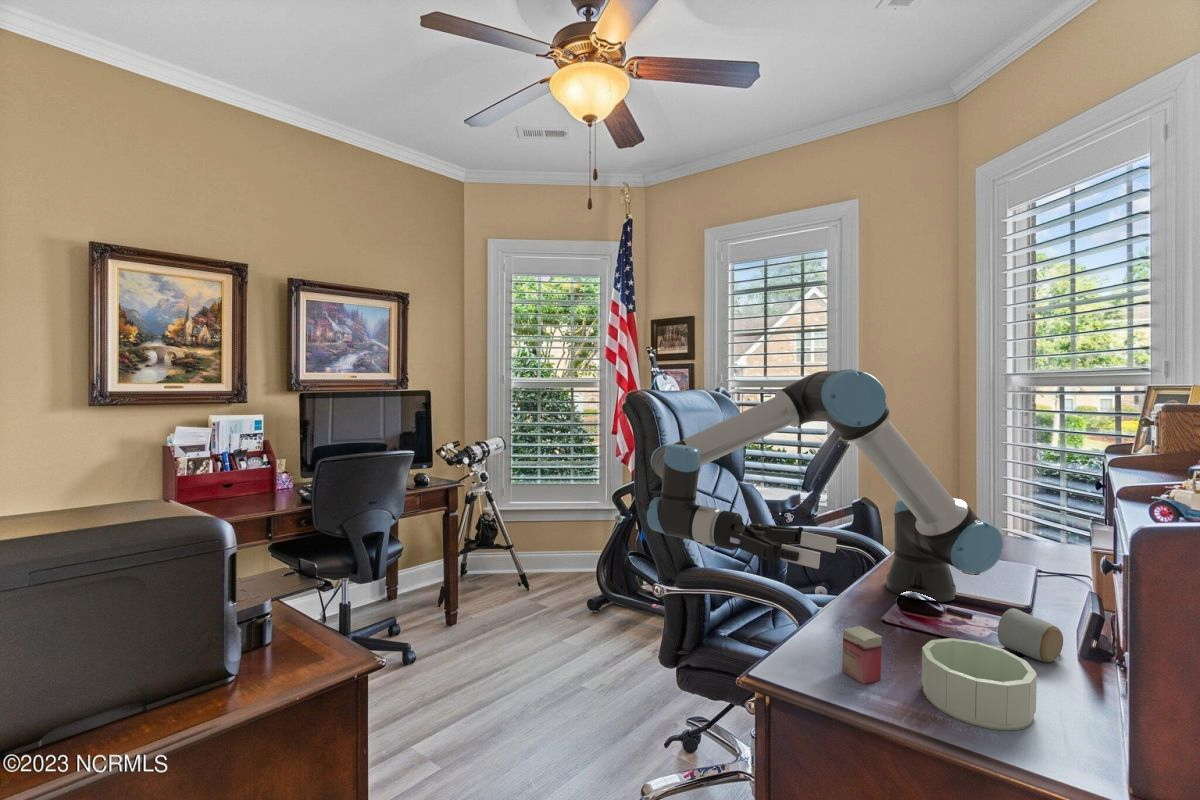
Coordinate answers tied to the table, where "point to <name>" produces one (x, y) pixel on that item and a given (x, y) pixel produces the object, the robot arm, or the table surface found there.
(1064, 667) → the table surface
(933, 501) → the robot arm
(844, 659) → the small box
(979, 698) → the sage bowl
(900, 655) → the table surface
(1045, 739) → the table surface
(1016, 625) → the ceramic mug
